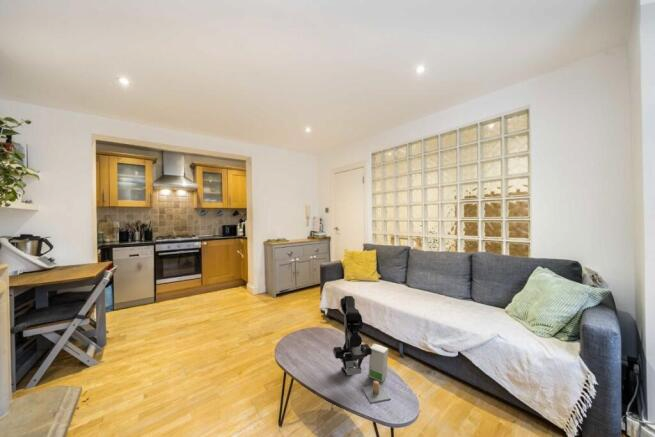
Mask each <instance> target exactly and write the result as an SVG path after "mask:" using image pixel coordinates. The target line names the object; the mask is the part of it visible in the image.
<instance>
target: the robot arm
mask: <svg viewBox="0 0 655 437" xmlns="http://www.w3.org/2000/svg"><path fill="white" fill-rule="evenodd" d="M355 301H356V299H355V298H354V296H352V295H344V296H343V297H342V298H341V299H340V300H339V306H340V308H341V309H340V311H341V312H342V314H343V323H344V343H343V346H334V347H333V348H332V353H333V356H334V357H335V359H337V360H338V359H340V361H341V363H342V365H344V367H343V366H342V367H341V370H342V373H343V374H344V376H348V375H347V373H346V371H345V369H346V362H348V361H357V362H358V364H359V366H360V367H361V366H362V363H363V361H364V359H365V358H366V357H368V356H370V355H371V354H372V349H371V346H370V345H369V344H368V343H365V344H362V342H363V339H362V336H361V333H360V330H362V329H363V325H364V323H363V316H362V313H360V310H359V309H357V308H356V302H355ZM344 368H345V369H344ZM349 368H355V367H349Z"/></svg>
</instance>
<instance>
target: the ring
mask: <svg viewBox="0 0 655 437" xmlns="http://www.w3.org/2000/svg"><path fill="white" fill-rule="evenodd" d="M342 365H343V364H342ZM342 367H344V365H343V366H342ZM349 367H354V368H349ZM344 369H345V368H344ZM345 371H346V373H347V375H346V376H351V375H352V376H353V375H359V374H360V375H361V374H362V368H361V366H359V364H358V360H357V361H348V362H346V369H345Z"/></svg>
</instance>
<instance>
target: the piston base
mask: <svg viewBox="0 0 655 437" xmlns="http://www.w3.org/2000/svg"><path fill="white" fill-rule="evenodd" d="M372 383H373V384H372V385H370V386H364V387H362V391H363V393H364V394H365V396H366V398H367V399H368V401H369V403H370V404H374V403H381V402H385V401H390V400H391V396H389V394H388V393H387V392H386V390H385V388H384V387H383V385H382V384H380V381H378V380H373V382H372Z"/></svg>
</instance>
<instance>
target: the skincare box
mask: <svg viewBox="0 0 655 437" xmlns="http://www.w3.org/2000/svg"><path fill="white" fill-rule="evenodd" d="M370 348H371V349H372V354H371V355H369V362H368V363H369V364H368V377H369V378H372V380H375V381H378V382H379V383H383V382H384V381H385V379H386V378H387V376H388V356H389V348H387V347H386V346H383V345H382V344H377V343H373V344H372V346H370Z"/></svg>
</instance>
